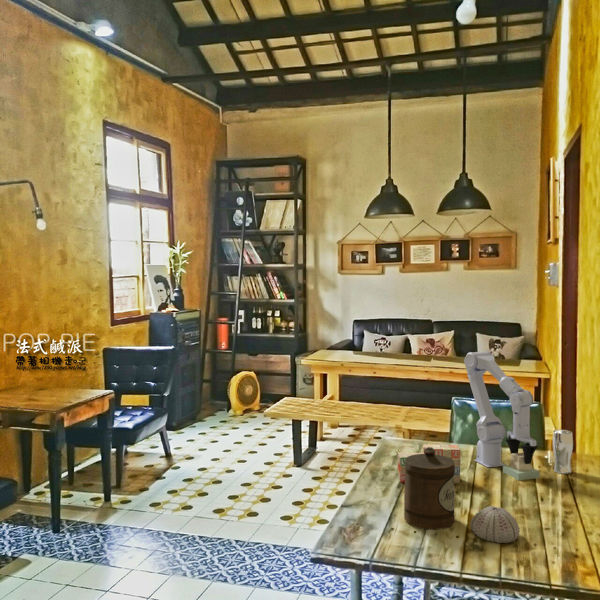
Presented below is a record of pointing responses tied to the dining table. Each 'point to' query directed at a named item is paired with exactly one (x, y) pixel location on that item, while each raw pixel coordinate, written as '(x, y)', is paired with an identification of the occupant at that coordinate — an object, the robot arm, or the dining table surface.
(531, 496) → the dining table surface
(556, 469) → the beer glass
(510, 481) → the dining table surface
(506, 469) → the green slab
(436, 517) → the wooden container
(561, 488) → the dining table surface
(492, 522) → the sea urchin shell
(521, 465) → the ash cube
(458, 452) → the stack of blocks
